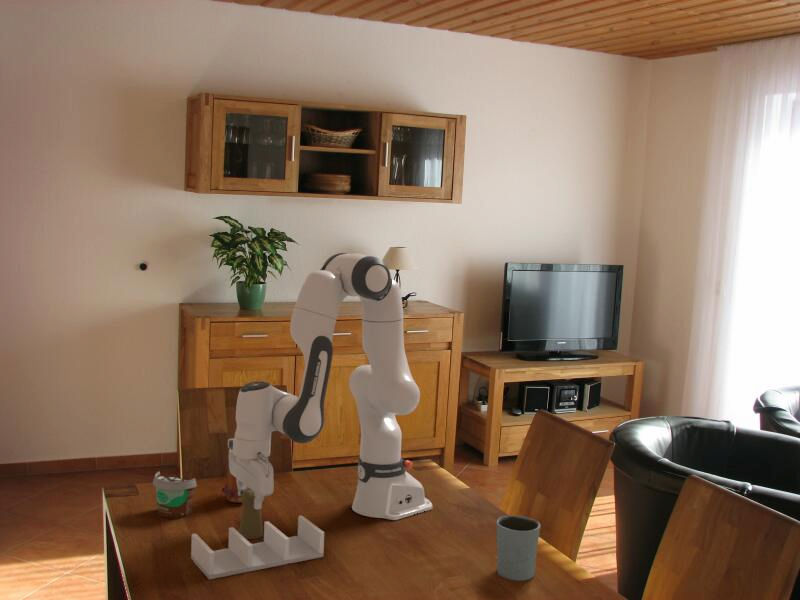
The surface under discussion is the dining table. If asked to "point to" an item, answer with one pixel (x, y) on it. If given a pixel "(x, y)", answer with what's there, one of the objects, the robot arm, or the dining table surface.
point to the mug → (231, 485)
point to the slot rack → (258, 550)
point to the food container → (174, 495)
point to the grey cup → (517, 547)
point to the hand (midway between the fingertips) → (249, 502)
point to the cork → (250, 517)
